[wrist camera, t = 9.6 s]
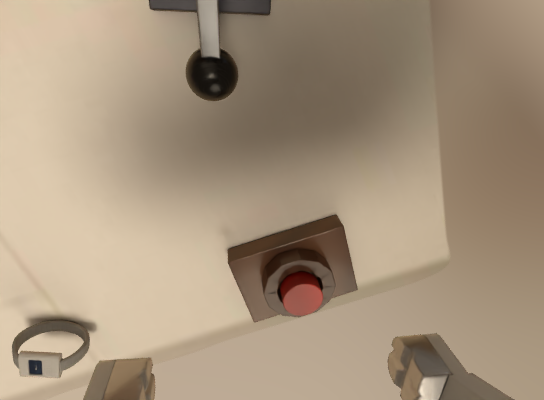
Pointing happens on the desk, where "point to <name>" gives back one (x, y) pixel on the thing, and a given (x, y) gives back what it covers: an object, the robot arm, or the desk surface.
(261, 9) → the black lever stand
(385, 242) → the desk surface
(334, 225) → the panel
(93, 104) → the desk surface
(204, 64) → the ball knob lever
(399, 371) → the robot arm
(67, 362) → the wristwatch
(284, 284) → the button
